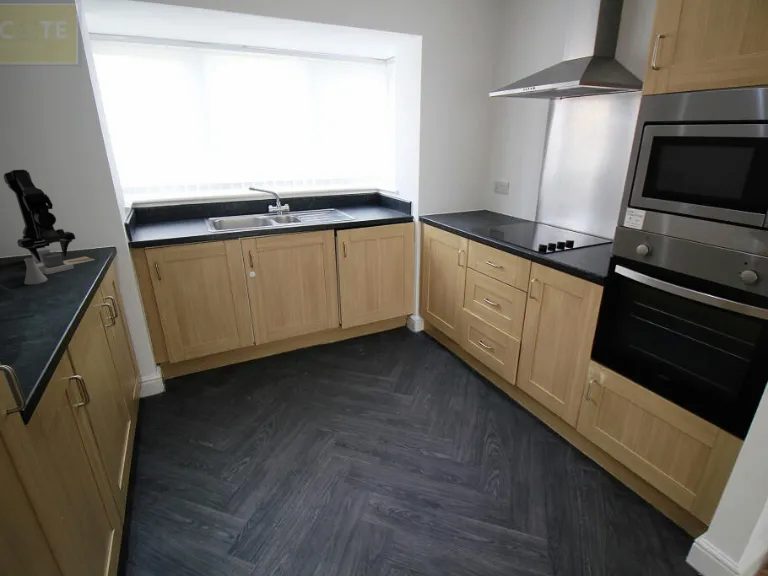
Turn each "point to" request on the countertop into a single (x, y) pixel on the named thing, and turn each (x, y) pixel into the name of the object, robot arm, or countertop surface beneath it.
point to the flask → (33, 273)
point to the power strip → (54, 268)
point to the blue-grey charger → (40, 251)
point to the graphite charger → (52, 259)
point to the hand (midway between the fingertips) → (52, 259)
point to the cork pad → (79, 260)
